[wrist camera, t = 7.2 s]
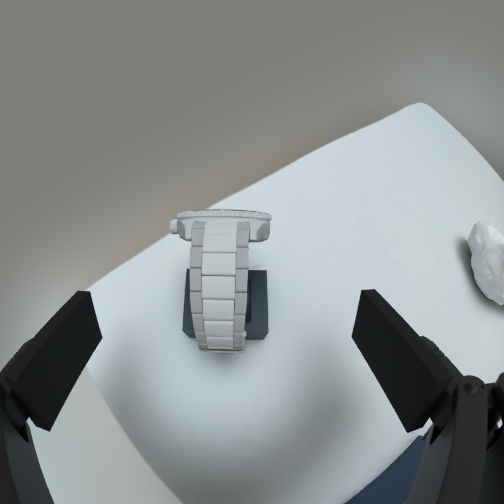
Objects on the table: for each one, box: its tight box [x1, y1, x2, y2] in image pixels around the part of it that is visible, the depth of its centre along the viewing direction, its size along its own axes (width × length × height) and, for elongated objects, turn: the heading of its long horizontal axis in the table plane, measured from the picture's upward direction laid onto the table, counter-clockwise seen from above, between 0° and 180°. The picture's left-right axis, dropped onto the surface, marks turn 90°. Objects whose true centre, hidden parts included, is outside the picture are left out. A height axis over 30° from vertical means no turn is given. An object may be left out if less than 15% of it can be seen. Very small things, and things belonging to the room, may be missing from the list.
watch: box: [170, 209, 271, 353], centre depth 16 cm, size 6×8×11 cm
